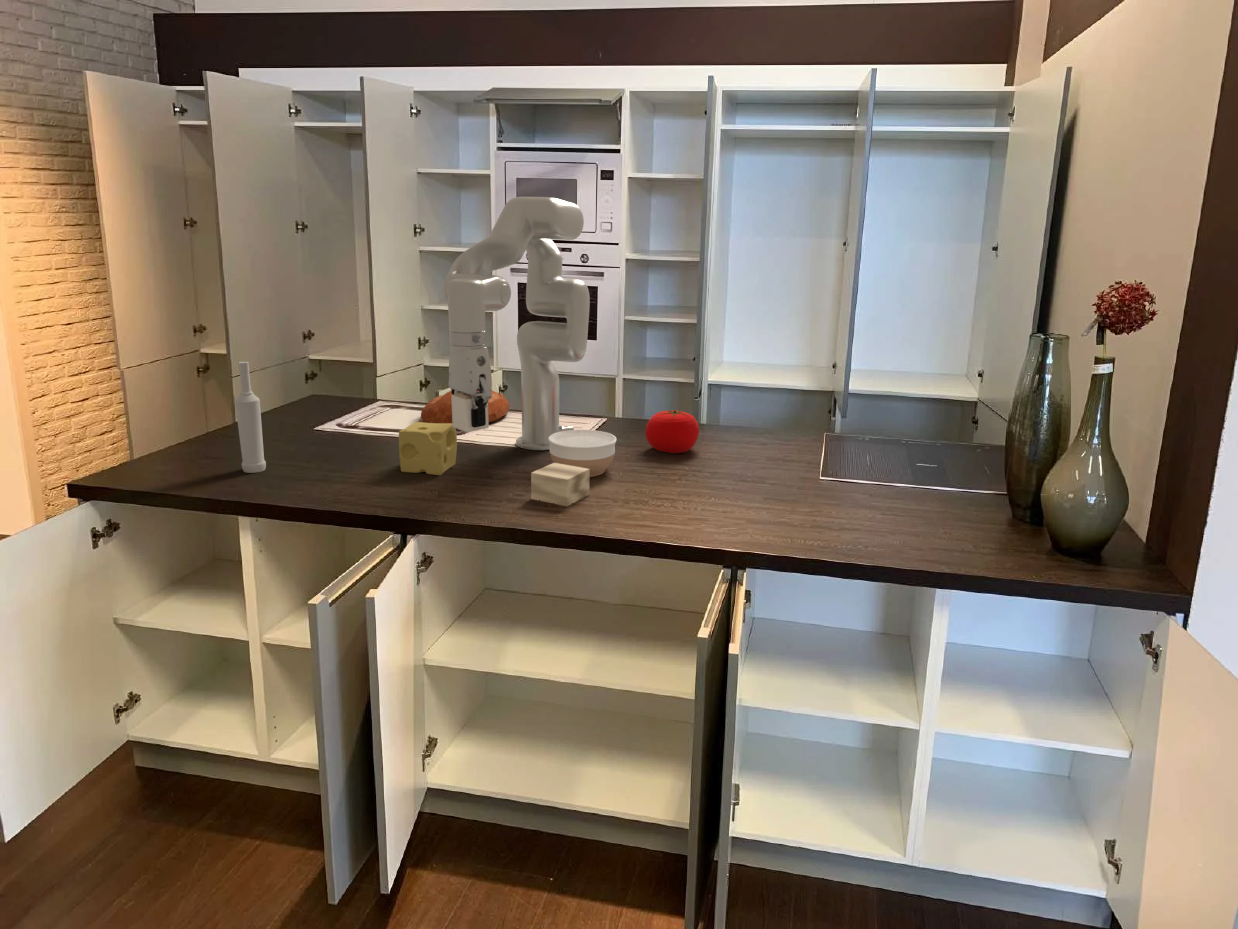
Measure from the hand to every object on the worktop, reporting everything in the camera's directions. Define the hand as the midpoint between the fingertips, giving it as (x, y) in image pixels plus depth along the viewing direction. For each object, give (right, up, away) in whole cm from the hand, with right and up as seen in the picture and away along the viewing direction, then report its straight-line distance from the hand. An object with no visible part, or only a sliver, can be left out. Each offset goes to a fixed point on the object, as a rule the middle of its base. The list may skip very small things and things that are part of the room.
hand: (470, 422), depth 193 cm
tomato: (+45, -6, +37) cm, 59 cm away
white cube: (0, -1, 0) cm, 1 cm away
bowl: (+23, -11, +19) cm, 32 cm away
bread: (-12, +4, +66) cm, 68 cm away
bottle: (-52, -10, +15) cm, 55 cm away
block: (+19, -16, +1) cm, 25 cm away
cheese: (-13, -10, +19) cm, 25 cm away
